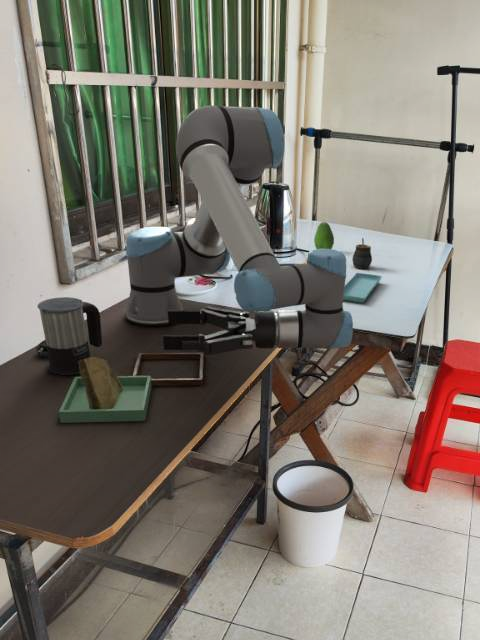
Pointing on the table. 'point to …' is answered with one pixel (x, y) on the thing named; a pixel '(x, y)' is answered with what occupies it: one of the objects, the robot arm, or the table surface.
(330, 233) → the avocado
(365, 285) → the rectangular tray
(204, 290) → the table surface
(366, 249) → the mate gourd
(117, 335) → the table surface
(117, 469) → the table surface
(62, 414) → the green tray
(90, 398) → the rock
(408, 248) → the table surface
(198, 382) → the wooden frame
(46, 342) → the milk frother
